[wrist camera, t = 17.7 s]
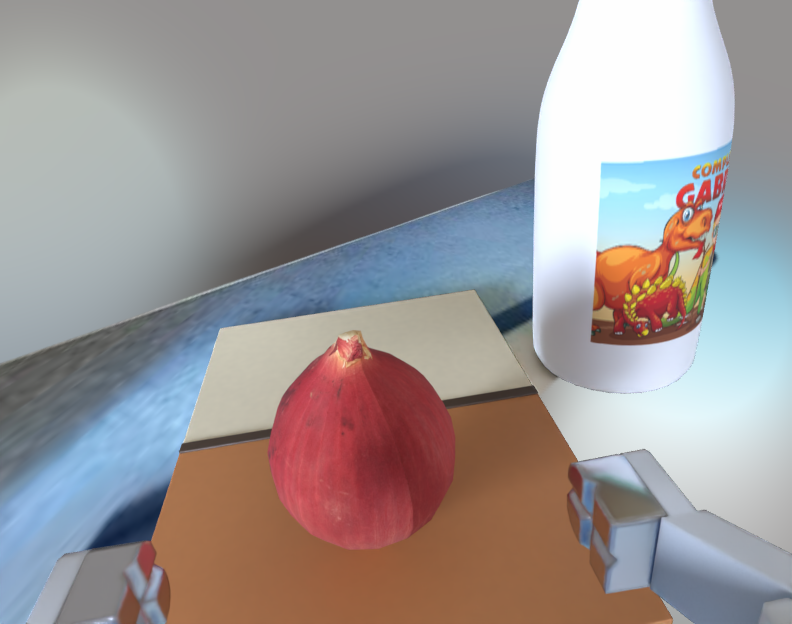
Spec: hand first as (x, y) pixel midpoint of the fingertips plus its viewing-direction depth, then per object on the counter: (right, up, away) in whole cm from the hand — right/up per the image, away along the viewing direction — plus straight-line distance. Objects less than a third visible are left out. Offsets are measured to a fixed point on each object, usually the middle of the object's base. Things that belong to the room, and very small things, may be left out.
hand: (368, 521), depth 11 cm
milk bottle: (+12, +2, +18) cm, 21 cm away
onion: (0, -4, +9) cm, 9 cm away
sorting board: (-1, -1, +14) cm, 14 cm away
